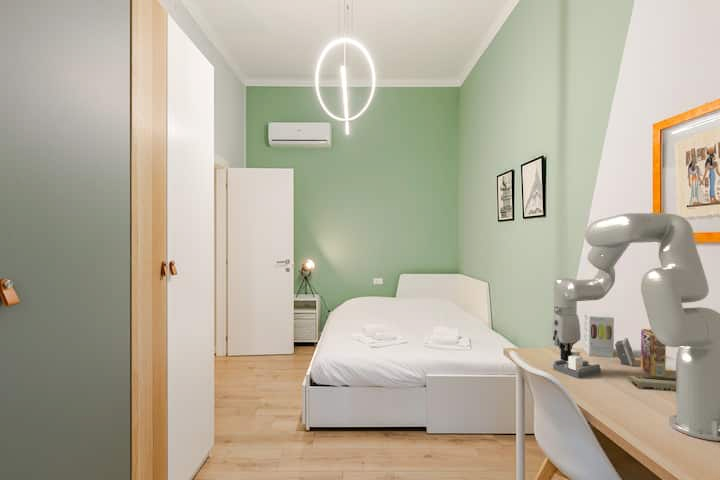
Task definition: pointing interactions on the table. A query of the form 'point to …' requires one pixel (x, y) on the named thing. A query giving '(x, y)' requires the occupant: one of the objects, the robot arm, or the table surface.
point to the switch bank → (577, 369)
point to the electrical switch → (625, 352)
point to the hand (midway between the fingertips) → (565, 360)
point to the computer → (653, 383)
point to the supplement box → (599, 334)
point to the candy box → (652, 354)
